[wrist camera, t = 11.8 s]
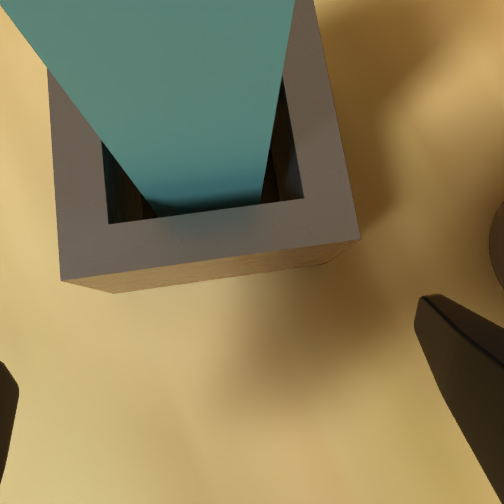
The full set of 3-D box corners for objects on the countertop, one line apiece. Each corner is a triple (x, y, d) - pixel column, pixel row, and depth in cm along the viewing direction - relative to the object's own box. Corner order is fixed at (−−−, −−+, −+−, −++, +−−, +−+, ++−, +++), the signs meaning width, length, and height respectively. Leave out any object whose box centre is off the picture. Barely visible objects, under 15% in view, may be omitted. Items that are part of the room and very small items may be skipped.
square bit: (257, 214, 17) (311, -95, 4) (165, 226, 17) (-52, -66, 4) (245, 130, 18) (261, -347, 5) (157, 140, 18) (-54, -333, 5)
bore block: (325, 263, 17) (360, 238, 12) (114, 293, 16) (60, 280, 12) (291, 75, 19) (310, -15, 14) (96, 97, 18) (43, 12, 13)
